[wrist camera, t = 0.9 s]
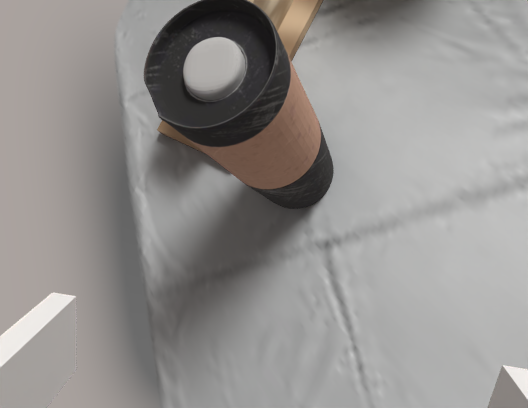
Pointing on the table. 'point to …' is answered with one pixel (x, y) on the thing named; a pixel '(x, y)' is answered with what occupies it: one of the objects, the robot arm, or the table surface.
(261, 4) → the ridge
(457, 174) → the table surface
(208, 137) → the travel mug
